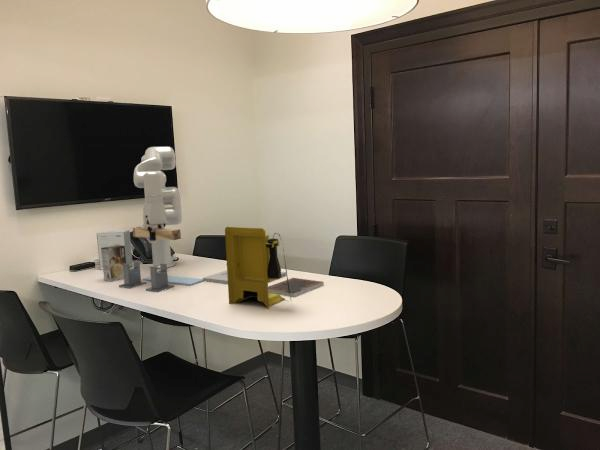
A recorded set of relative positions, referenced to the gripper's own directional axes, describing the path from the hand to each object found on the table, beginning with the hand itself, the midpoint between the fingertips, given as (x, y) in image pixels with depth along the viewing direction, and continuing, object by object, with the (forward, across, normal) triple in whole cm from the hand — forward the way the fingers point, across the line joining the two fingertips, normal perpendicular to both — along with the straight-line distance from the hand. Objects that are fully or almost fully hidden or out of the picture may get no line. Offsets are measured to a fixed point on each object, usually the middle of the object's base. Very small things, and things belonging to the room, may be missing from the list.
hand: (156, 239), depth 228 cm
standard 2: (+20, +7, +8) cm, 23 cm away
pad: (+21, -7, +2) cm, 22 cm away
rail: (-1, 0, 0) cm, 1 cm away
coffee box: (+21, +2, -28) cm, 35 cm away
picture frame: (+21, -16, +62) cm, 68 cm away
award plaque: (+21, -23, +31) cm, 44 cm away
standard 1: (+21, +8, -9) cm, 24 cm away
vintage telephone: (+20, +7, +62) cm, 66 cm away
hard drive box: (+22, -16, -50) cm, 57 cm away
